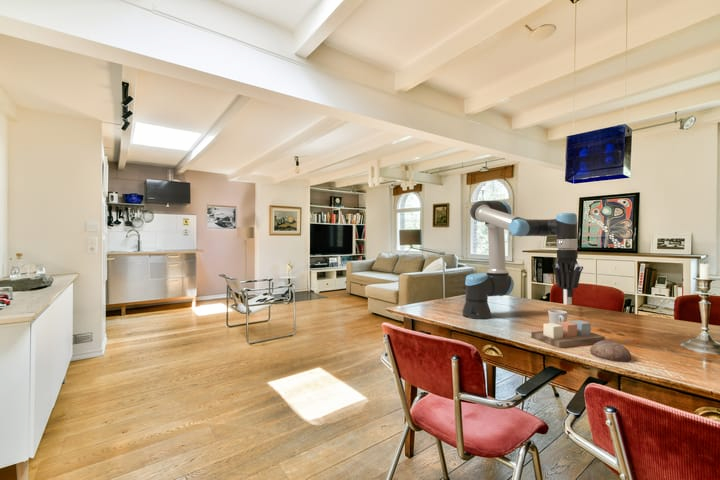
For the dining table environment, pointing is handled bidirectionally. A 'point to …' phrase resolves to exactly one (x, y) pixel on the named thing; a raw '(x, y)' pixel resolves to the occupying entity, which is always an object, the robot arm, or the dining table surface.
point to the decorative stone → (610, 351)
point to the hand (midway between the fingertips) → (567, 304)
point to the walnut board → (568, 339)
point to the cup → (557, 316)
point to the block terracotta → (568, 328)
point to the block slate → (582, 327)
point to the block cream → (553, 330)
